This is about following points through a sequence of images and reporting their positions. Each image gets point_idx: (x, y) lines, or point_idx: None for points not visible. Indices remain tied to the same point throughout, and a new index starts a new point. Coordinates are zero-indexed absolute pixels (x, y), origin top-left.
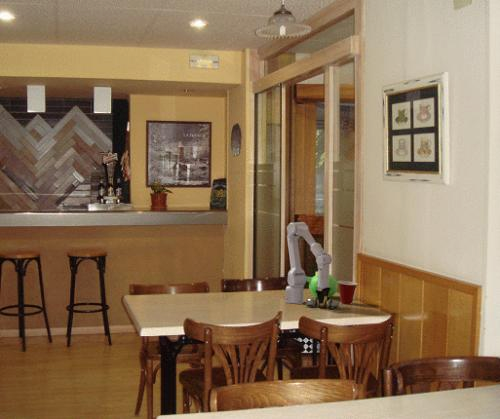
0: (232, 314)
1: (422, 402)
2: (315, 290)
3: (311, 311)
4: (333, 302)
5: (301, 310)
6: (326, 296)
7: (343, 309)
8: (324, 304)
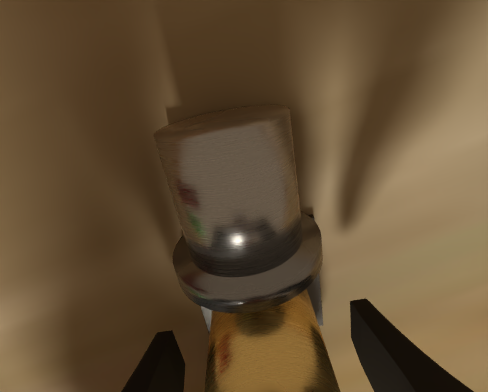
0: None
1: None
2: None
3: (483, 289)
4: (292, 197)
5: (465, 357)
6: (268, 386)
7: (171, 42)
8: None
